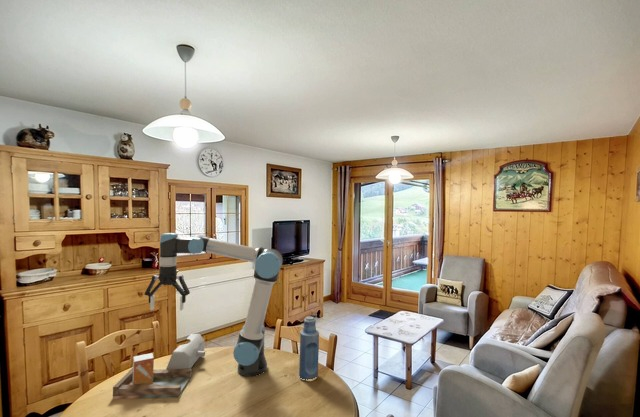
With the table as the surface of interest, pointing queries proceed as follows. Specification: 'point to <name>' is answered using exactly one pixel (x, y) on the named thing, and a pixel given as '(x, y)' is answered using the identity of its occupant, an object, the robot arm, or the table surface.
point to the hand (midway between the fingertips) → (167, 309)
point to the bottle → (309, 349)
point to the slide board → (154, 385)
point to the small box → (143, 369)
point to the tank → (187, 353)
